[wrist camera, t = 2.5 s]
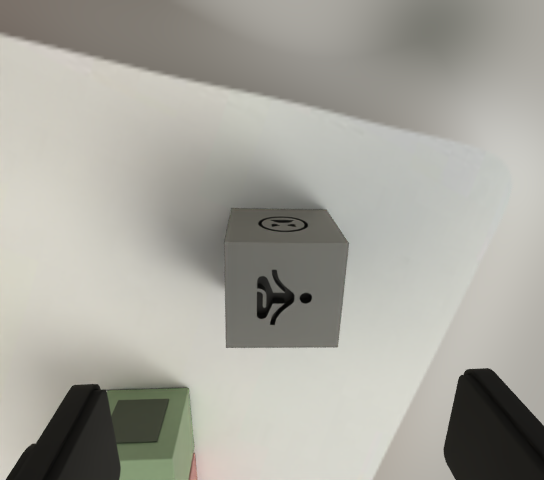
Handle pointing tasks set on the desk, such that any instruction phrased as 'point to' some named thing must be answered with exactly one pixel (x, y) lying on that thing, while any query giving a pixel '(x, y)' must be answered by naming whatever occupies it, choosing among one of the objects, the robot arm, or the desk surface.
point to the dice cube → (283, 278)
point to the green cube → (153, 433)
